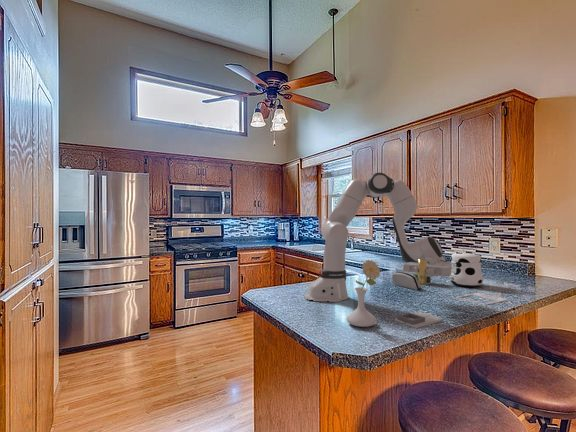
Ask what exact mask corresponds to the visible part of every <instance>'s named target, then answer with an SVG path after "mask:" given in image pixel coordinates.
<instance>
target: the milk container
mask: <svg viewBox="0 0 576 432" xmlns="http://www.w3.org/2000/svg"><path fill="white" fill-rule="evenodd" d="M450 260H451V261H450V263H451V276H449V279H450V283H452V284H453V285H455V286H460V287H466V288H467V287H469V288H471V287H473V288H475V287H480V286H482V285H483V283H484V275H483V273H482V256H481V255H479V254H473V253H453V254H451V258H450Z"/></svg>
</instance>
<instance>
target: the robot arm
mask: <svg viewBox="0 0 576 432" xmlns="http://www.w3.org/2000/svg"><path fill="white" fill-rule="evenodd" d="M343 190H344V191H343V192H342V194H341V196H340V197H339V199H338V201H337V203H336V205H335V207H334V208H333V210H332V211H331V212H330V214H329V216H328V217H327V218H326V220H325V222H324V224H323V225H322V227H321V230H320V233H321V236H322V239H324V240H325V243H324V251H323V269H318V270H317V273H318V274H319V277H318V278H317V279H315V280H314V281H312V282H311V283H310V285H309V289H308V291H307V292H305V294H304V298H306V300H307V299H308V300H307V301H309V300H313V301H312V302H327V301H329V302H332V303H339V302H342V301H345V300H347V299H349V295H348V290H347V289H348V288H347V283H346V282H347V270H346V250H347V243H348V238H349V230H348V226H349V225H350V224H351V221H352V220H353V219H355V217H356V215H357V213H358V211H359V209H360V208H361V205H362V203H363V201H364V200H365V198H367V197H368V198H371V199H372V198H374V199H376V198H377V199H378V198H380V197H381V196H385V197H386V198H387V199H388V200H390V203H391V205H392V207H393V216H392V217H391V219H392V226H393V229H394V233H395V236H396V240H397V243H398V246H399V252H400V255H401V259H402V260H403V262H404V263H402V271H403V272H408V273H413V272H416V273H418V263H417V262H418V259H426V276H428V277H431V278H432V277H439V276H440V277H450V276H451V261H447V260H446V259H445V257H444V256H443V253H444V252H443V248H442V246H441V244H440V243H439V241H438V240H437V239H435V238H434V237H432V236H427V237H423V238H421V239H419V240H416V241H413V242H411V243H409V241H408V238H407V234H406V231H405V226H406V223H407V222H408V221H409V220H410V219H411V218H412V217H413V216H414V215H415V213H416V212H417V209H418V204H417V201H416V198H415V196H414V195H413V193H412V191H411V190H410V188H409V187H408V185H407V184H406V182H404V181H403V180H401V179H396V180H394V179H393V178H391V177H389V176H388V175H387V174H386V173H384V172H374V173H373V174H372V175H371V176H369V178H368V179H366V180H362V179H359V178H355V179H352V180H351V181H350V182H349V183H348V184H347V186H346V187H345V189H343ZM329 302H328V303H329Z"/></svg>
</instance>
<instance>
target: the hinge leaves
mask: <svg viewBox="0 0 576 432" xmlns="http://www.w3.org/2000/svg"><path fill="white" fill-rule="evenodd" d="M394 321H395V322H398V323H401V324H404V325H406V326H409V327H411V328H415V329H418V328H421V327H425V326H429V325H431V324H436V323H439V322H442V321H443V318H442V317H438V316H436V315H431V314H430V313H429V314H428V313H427V312H426V313H425V312H423V311H422V312H421V311H419V312H415V313H412V312H407V313H403V314H398V315H397V316H396V317H395V318H394Z"/></svg>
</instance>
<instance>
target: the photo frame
mask: <svg viewBox="0 0 576 432" xmlns="http://www.w3.org/2000/svg"><path fill="white" fill-rule="evenodd" d="M471 295H472V296H474V297H478V296H479V297H478V298H482V297H483V299H486V298H487V299H488V300H491V302H487V303H483V302H479V301H474V300H470V299H466V297H471ZM455 299H458V300H461V299H462V300H461V301H465V300H466V301H465V302H469V301H470V303H473V302H474V304H477V303H478V305H481V304H482V306H489V305H493V303H494V304H499V303H502V302H507V301H508V299H506V298H503V297H499V296H494V295H489V294H485V293H479V292H476V293H470V294H465V295H459V296H455ZM487 299H486V300H487ZM488 304H489V305H488Z"/></svg>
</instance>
